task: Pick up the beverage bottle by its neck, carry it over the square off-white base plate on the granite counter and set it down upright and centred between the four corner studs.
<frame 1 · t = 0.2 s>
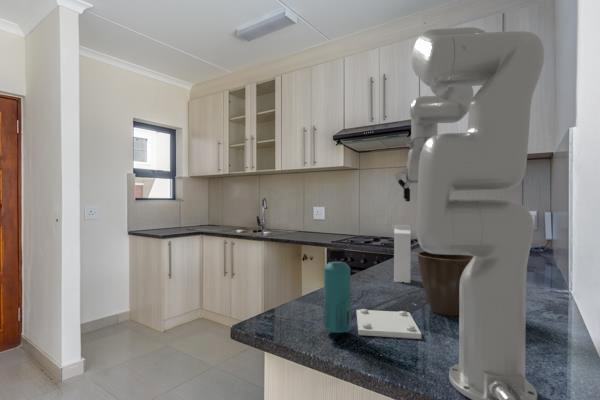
hand: (423, 201, 98), 31 cm above the countertop, tool pointing down, fingers open, 9 cm apart
plant pot: (445, 312, 91), on the countertop
beverage bottle: (337, 334, 75), on the countertop
milk: (402, 281, 125), on the countertop
base plate: (385, 325, 80), on the countertop
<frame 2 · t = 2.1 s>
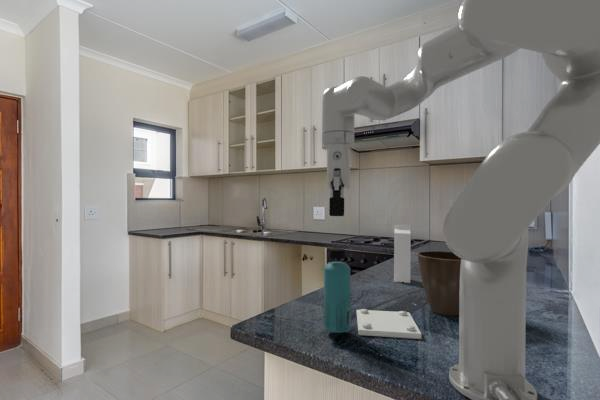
hand: (337, 214, 75), 28 cm above the countertop, tool pointing down, fingers open, 9 cm apart
nothing on the countertop moved.
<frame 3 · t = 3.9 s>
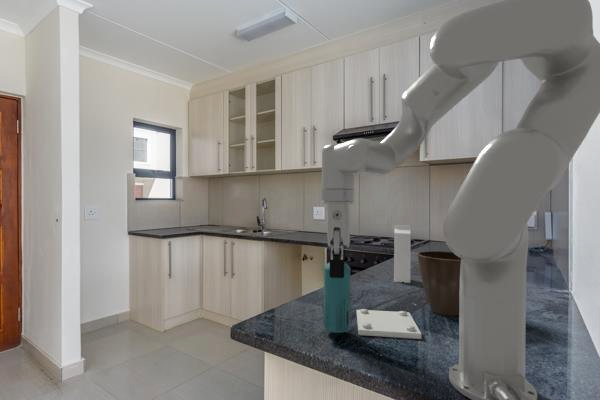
hand: (337, 273, 75), 14 cm above the countertop, tool pointing down, fingers closed on beverage bottle, 6 cm apart
beverage bottle: (336, 334, 75), on the countertop, touching gripper
everything else where it was.
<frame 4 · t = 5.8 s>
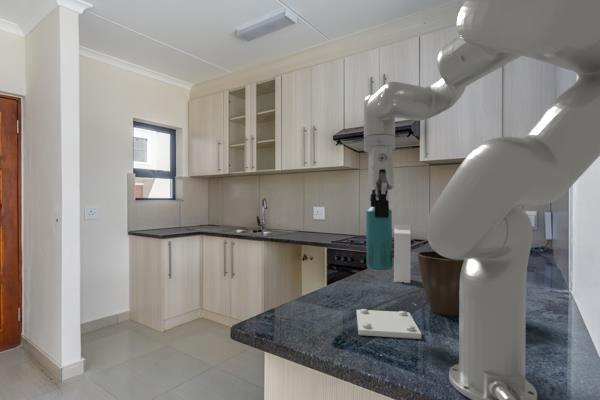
hand: (379, 216, 79), 27 cm above the countertop, tool pointing down, fingers closed on beverage bottle, 6 cm apart
beverage bottle: (379, 274, 79), point 13 cm above the countertop, touching gripper
everything else where it was.
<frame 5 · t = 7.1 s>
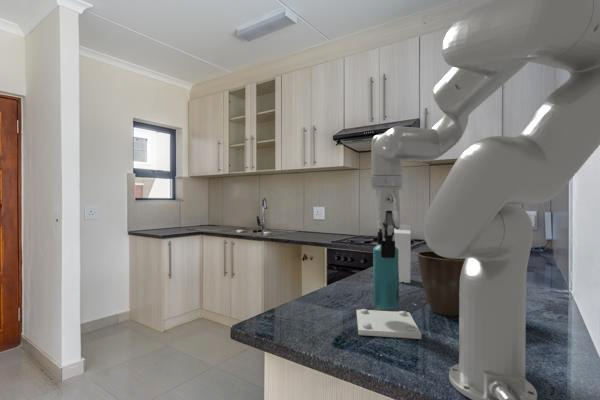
hand: (386, 254, 80), 18 cm above the countertop, tool pointing down, fingers closed on beverage bottle, 6 cm apart
beverage bottle: (385, 311, 80), point 3 cm above the countertop, touching gripper
everything else where it was.
when the fingers open (16 cm above the countertop, at t = 7.9 s): beverage bottle stays where it is, resting on base plate.
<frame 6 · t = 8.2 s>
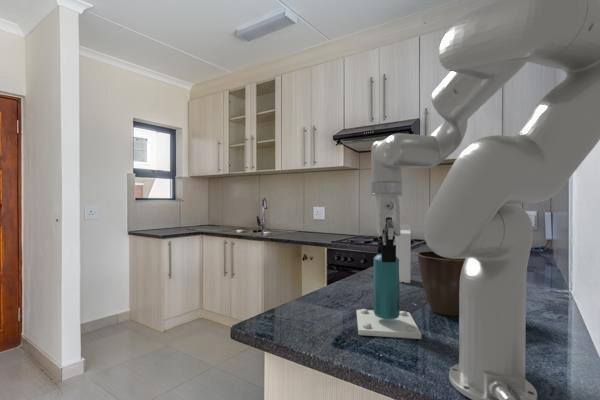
hand: (386, 258, 80), 17 cm above the countertop, tool pointing down, fingers open, 9 cm apart
beverage bottle: (386, 321, 80), point 1 cm above the countertop, touching base plate
everything else where it was.
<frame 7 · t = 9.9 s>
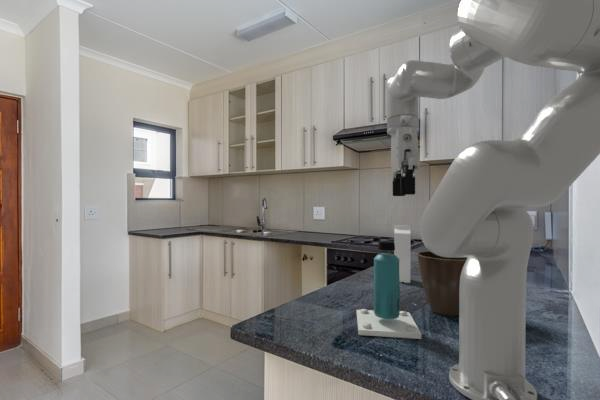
hand: (403, 195, 79), 33 cm above the countertop, tool pointing down, fingers open, 9 cm apart
nothing on the countertop moved.
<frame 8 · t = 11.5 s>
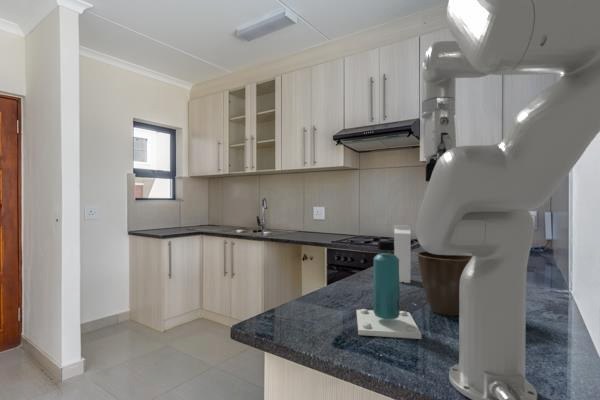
hand: (437, 180, 78), 36 cm above the countertop, tool pointing down, fingers open, 9 cm apart
nothing on the countertop moved.
at the end: beverage bottle 0.2 cm off-centre on the base plate, point 1.0 cm above the base plate's base; beverage bottle tilted 0°; the gripper is holding nothing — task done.
